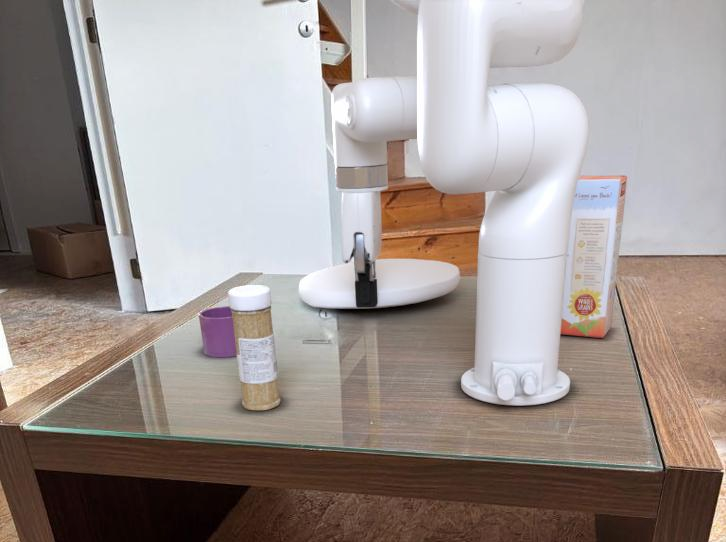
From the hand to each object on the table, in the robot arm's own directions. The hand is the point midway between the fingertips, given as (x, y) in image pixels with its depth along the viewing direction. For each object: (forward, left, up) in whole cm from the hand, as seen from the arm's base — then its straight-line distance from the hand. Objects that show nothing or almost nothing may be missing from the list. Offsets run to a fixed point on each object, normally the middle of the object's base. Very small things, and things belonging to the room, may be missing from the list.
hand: (366, 305), depth 114 cm
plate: (+15, 0, -3) cm, 15 cm away
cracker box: (-4, -29, -3) cm, 29 cm away
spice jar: (-36, +7, -3) cm, 37 cm away
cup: (-15, +18, -3) cm, 24 cm away
